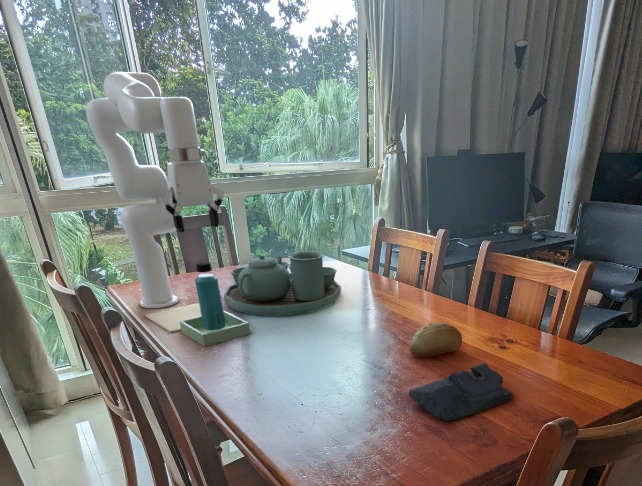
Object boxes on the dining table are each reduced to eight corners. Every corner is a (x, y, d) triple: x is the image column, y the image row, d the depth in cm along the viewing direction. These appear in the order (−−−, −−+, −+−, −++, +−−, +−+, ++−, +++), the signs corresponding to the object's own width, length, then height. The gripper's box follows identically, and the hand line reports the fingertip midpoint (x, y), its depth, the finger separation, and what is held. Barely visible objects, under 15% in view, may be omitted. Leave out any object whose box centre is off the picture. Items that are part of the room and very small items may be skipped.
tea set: (349, 284, 192) (348, 238, 183) (325, 320, 158) (322, 265, 150) (249, 281, 198) (243, 237, 189) (205, 315, 164) (196, 263, 156)
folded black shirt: (398, 397, 114) (398, 378, 111) (470, 373, 124) (472, 354, 121) (443, 426, 102) (445, 406, 100) (519, 397, 113) (522, 377, 110)
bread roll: (470, 354, 133) (473, 325, 129) (420, 365, 128) (422, 335, 124) (450, 342, 141) (453, 314, 136) (402, 351, 136) (403, 322, 131)
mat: (145, 316, 165) (145, 315, 164) (203, 303, 175) (202, 301, 175) (171, 333, 151) (170, 331, 151) (231, 317, 162) (230, 315, 162)
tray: (181, 331, 152) (179, 321, 150) (225, 320, 160) (223, 310, 158) (204, 346, 142) (202, 335, 140) (250, 333, 150) (249, 322, 148)
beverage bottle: (221, 336, 147) (209, 265, 137) (200, 335, 149) (186, 265, 138) (230, 328, 153) (219, 260, 142) (210, 327, 154) (197, 259, 144)
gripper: (210, 153, 134) (221, 223, 143) (145, 157, 124) (161, 231, 133) (224, 154, 129) (234, 226, 138) (157, 158, 119) (172, 235, 128)
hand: (198, 228), depth 135 cm, fingers open, 9 cm apart
